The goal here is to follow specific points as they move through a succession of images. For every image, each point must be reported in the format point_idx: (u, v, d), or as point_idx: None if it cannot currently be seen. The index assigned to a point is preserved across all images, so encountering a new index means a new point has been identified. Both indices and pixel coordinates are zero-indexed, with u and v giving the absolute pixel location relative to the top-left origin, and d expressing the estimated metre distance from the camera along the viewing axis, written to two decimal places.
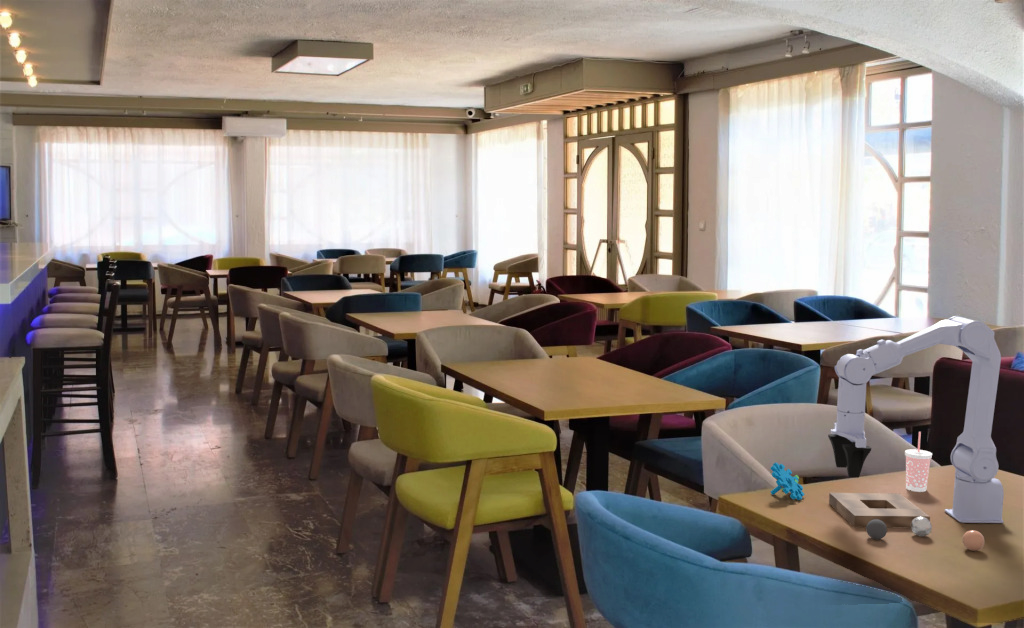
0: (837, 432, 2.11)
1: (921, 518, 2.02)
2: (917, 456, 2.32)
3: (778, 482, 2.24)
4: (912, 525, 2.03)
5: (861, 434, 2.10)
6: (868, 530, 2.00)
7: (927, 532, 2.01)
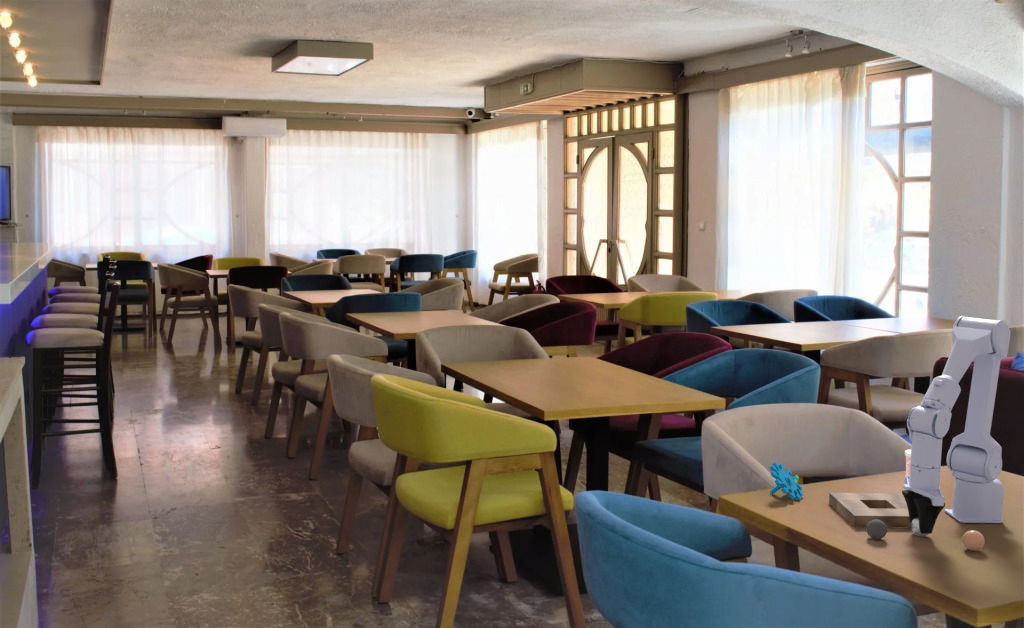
0: (911, 488, 2.01)
1: None
2: None
3: (777, 482, 2.24)
4: (912, 525, 2.03)
5: (937, 490, 1.99)
6: (868, 530, 2.00)
7: None
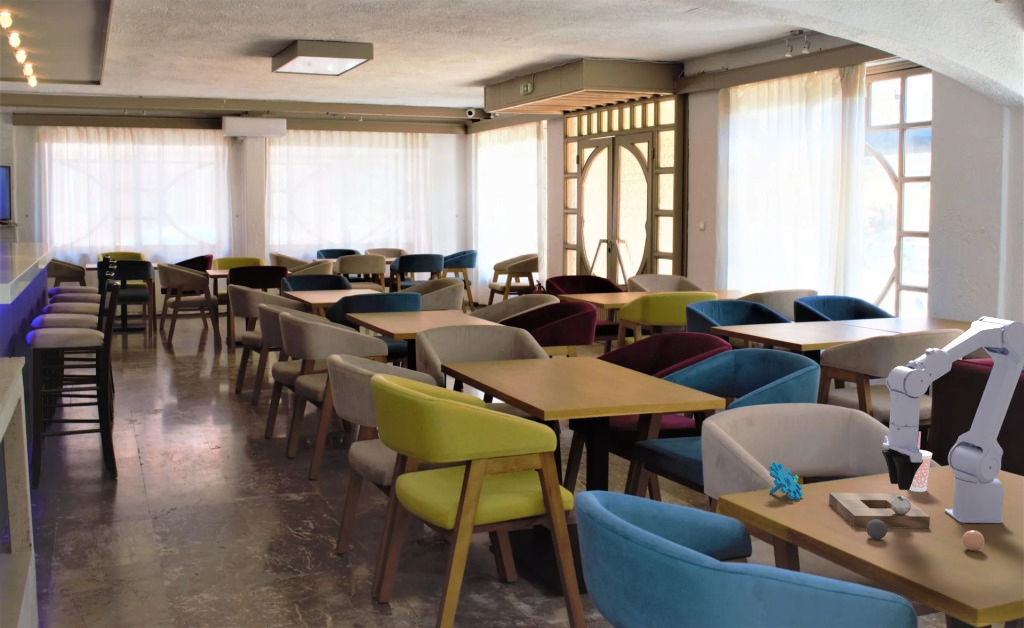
0: (890, 446, 2.07)
1: (899, 496, 2.09)
2: None
3: (775, 481, 2.25)
4: (891, 504, 2.09)
5: (915, 448, 2.05)
6: (868, 530, 2.00)
7: (906, 508, 2.07)
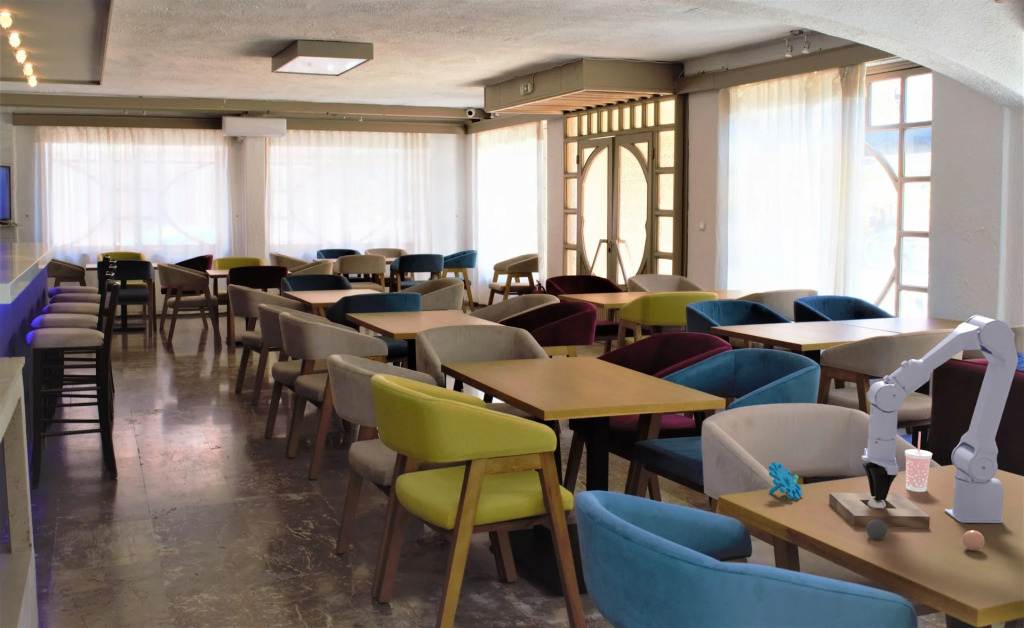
0: (868, 459, 2.13)
1: None
2: (917, 456, 2.32)
3: (774, 481, 2.25)
4: (870, 505, 2.14)
5: (892, 461, 2.12)
6: (868, 530, 2.00)
7: None
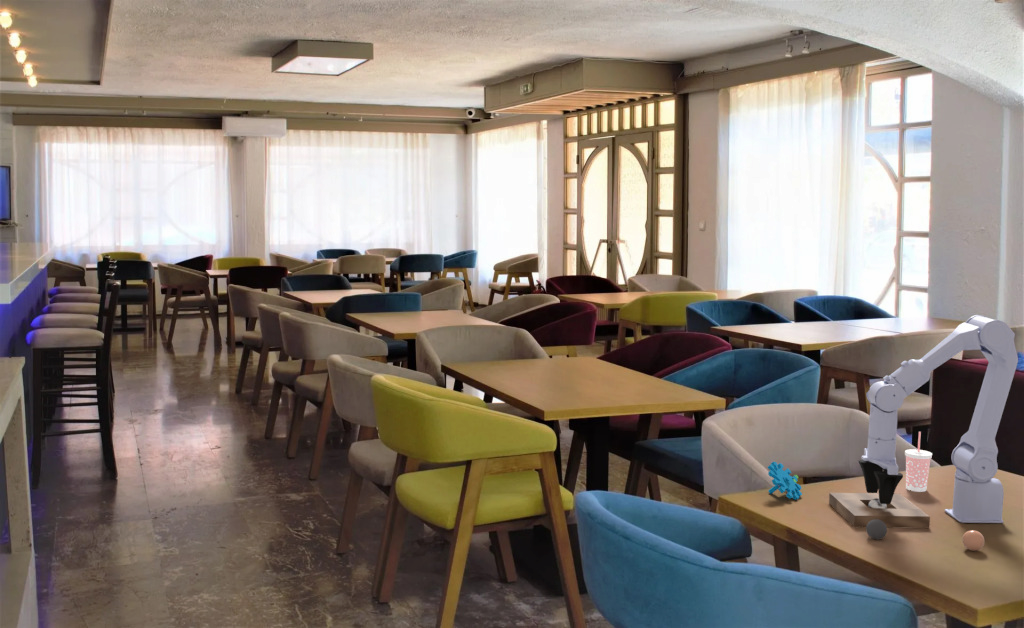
0: (868, 459, 2.13)
1: None
2: (917, 456, 2.32)
3: (774, 481, 2.25)
4: (871, 506, 2.14)
5: (892, 461, 2.12)
6: (868, 530, 2.00)
7: None
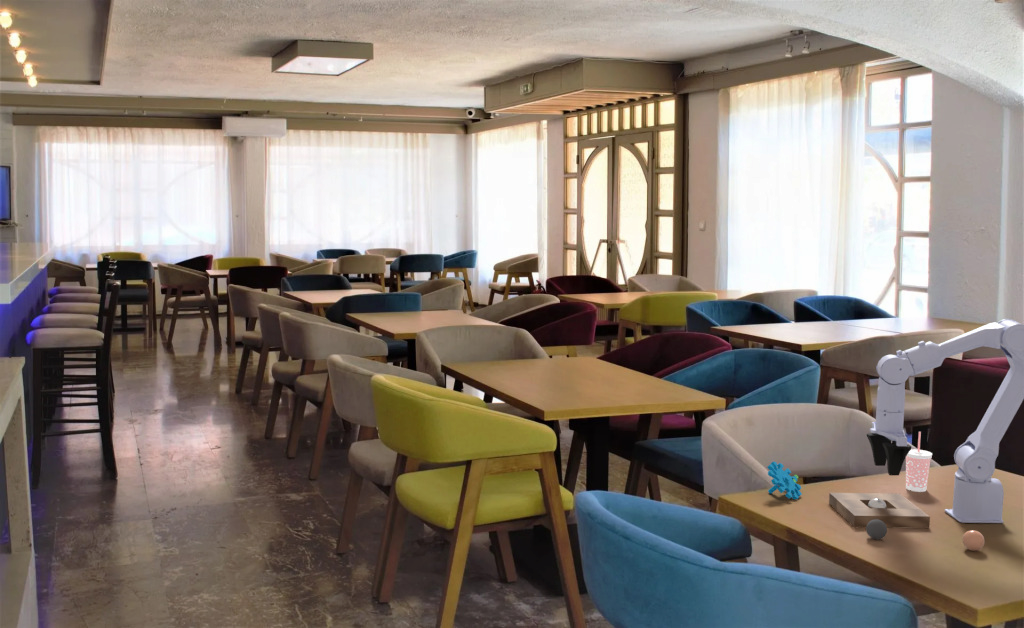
0: (877, 431, 2.16)
1: None
2: (917, 456, 2.32)
3: (773, 481, 2.25)
4: (871, 506, 2.14)
5: (901, 433, 2.14)
6: (868, 530, 2.00)
7: None
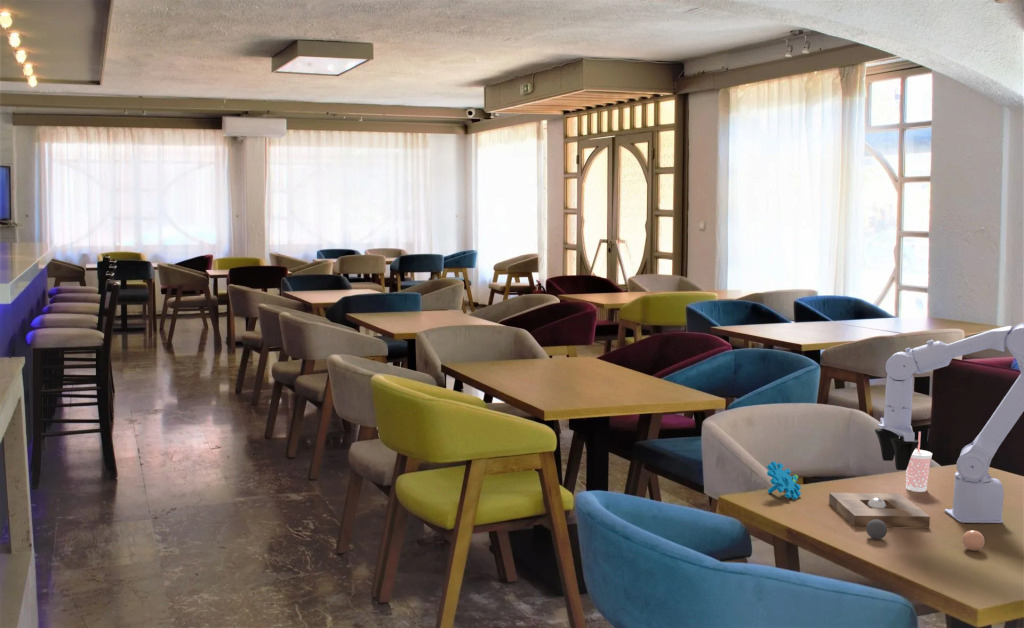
0: (885, 426, 2.20)
1: None
2: (917, 456, 2.32)
3: (772, 481, 2.25)
4: (870, 505, 2.14)
5: (908, 428, 2.18)
6: (868, 530, 2.00)
7: None
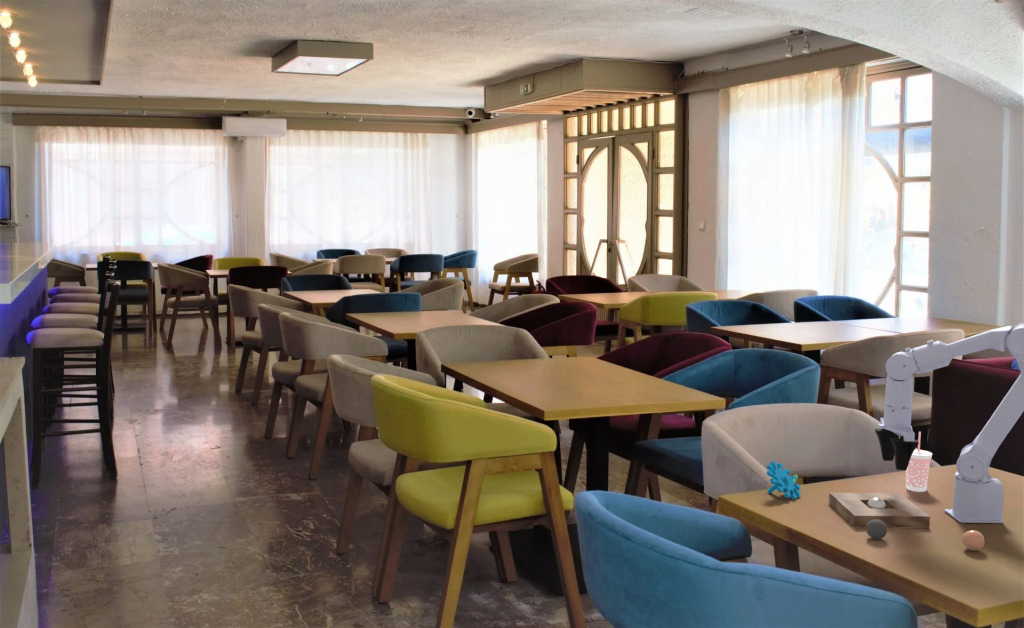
0: (885, 426, 2.20)
1: None
2: (917, 456, 2.32)
3: (772, 480, 2.25)
4: (870, 504, 2.15)
5: (908, 428, 2.18)
6: (868, 530, 2.00)
7: None
